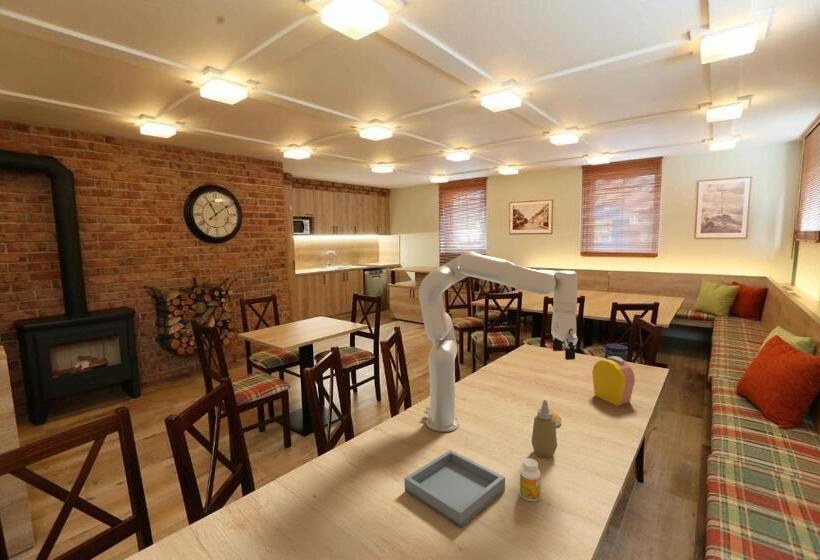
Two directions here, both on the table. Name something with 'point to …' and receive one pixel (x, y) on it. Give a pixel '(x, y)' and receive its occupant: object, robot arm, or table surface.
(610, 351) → the storage jar
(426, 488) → the box
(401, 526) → the table surface
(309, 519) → the table surface
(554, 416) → the bread roll
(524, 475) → the supplement bottle
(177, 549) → the table surface
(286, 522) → the table surface
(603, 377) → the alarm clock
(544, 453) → the squeeze bottle
